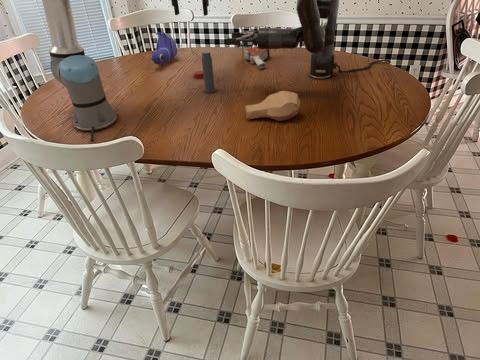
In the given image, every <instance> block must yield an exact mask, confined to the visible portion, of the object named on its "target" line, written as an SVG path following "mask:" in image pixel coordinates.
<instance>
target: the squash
mask: <svg viewBox="0 0 480 360" xmlns="http://www.w3.org/2000/svg"><path fill="white" fill-rule="evenodd" d="M300 105H301V100H300V98H299V94H298V93H296V92H292V91H289V90H281V91H277V92H275V93H272V94H269V95H268V96H266V98H265V99H264V100H262V101H261V102H260V103H256V104H247V105H245V106H244V111H245V117H246V119H247V120H253V119H259V118H269V119H272V120H275V121H279V122H280V121H289V120H290V119H292V118H293V117H295V116H297V115H298V114H299V109H300Z"/></svg>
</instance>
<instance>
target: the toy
mask: <svg viewBox="0 0 480 360" xmlns="http://www.w3.org/2000/svg"><path fill="white" fill-rule="evenodd" d="M155 35H156V36H157V35H158V38H157V39H156V45H155V51H151V53H152V54H151V56H150V60H151V61H152V62H153V63H154V64H156V65H157V67H158V68H159V69H161V66H162V64H167V63H169V62H171V61H173V60H174V59H175V57H177V55H178V46H177V43H176V41H175V39H174V38H173V37H172V36H171V35H170V36H168V35H167V34H166V32H164V31H162V32H159V31H158V32H156V33H155Z"/></svg>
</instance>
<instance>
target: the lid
mask: <svg viewBox="0 0 480 360" xmlns="http://www.w3.org/2000/svg"><path fill="white" fill-rule="evenodd" d="M193 75H194V78H195V79H202V78H203V79H204V75H203V70H197V71H194V72H193Z"/></svg>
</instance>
